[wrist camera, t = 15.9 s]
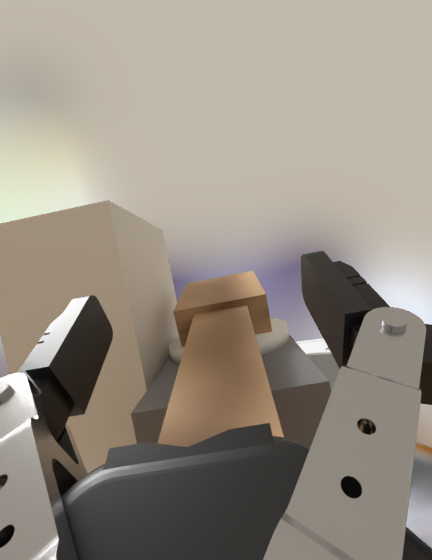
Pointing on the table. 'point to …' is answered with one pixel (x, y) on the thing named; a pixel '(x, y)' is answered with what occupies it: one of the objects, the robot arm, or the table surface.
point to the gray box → (281, 376)
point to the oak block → (220, 361)
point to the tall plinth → (111, 294)
